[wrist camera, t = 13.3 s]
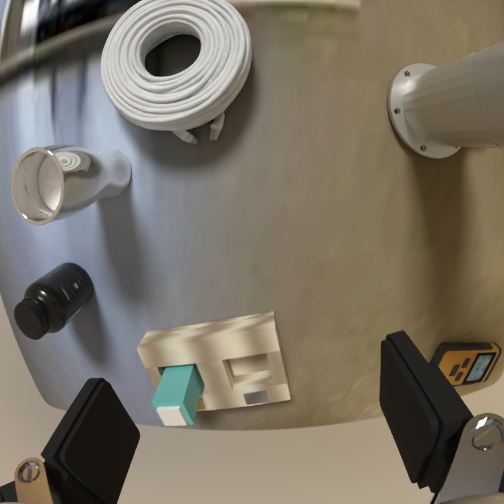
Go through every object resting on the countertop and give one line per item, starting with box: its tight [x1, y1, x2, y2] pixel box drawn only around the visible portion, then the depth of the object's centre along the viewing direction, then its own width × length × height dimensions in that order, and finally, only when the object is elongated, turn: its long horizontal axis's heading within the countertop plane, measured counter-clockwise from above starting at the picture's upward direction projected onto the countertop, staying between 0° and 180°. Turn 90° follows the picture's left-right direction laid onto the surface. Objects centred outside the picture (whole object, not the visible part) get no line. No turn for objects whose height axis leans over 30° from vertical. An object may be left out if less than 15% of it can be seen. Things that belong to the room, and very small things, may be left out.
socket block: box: [137, 311, 291, 411], centre depth 40 cm, size 18×12×5 cm, turn 102°
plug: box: [151, 363, 203, 426], centre depth 36 cm, size 4×4×11 cm
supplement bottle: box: [14, 263, 92, 340], centre depth 33 cm, size 7×7×12 cm
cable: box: [101, 0, 252, 144], centre depth 28 cm, size 18×18×6 cm
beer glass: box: [11, 144, 131, 225], centre depth 27 cm, size 7×7×15 cm
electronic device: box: [431, 343, 501, 386], centre depth 42 cm, size 8×16×3 cm, turn 81°
